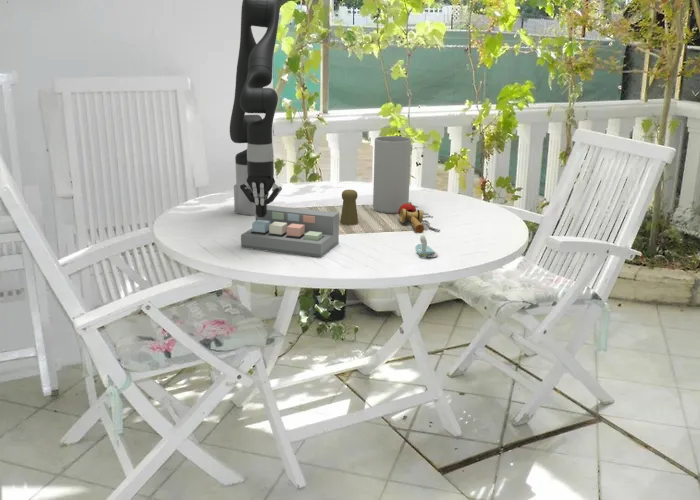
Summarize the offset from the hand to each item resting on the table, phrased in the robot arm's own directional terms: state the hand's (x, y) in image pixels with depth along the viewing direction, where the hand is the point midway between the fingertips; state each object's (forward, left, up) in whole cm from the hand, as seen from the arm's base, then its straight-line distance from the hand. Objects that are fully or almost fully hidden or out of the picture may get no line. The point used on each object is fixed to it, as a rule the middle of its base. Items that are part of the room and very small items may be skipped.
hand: (261, 216), depth 222 cm
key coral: (+11, 0, -5) cm, 12 cm away
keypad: (+8, +3, -9) cm, 12 cm away
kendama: (+36, +38, -9) cm, 53 cm away
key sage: (+16, 0, -7) cm, 18 cm away
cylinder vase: (+24, +55, -9) cm, 61 cm away
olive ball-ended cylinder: (+16, +33, -9) cm, 38 cm away
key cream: (+5, 0, -5) cm, 8 cm away
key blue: (0, 0, -5) cm, 5 cm away
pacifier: (+48, +9, -9) cm, 50 cm away
